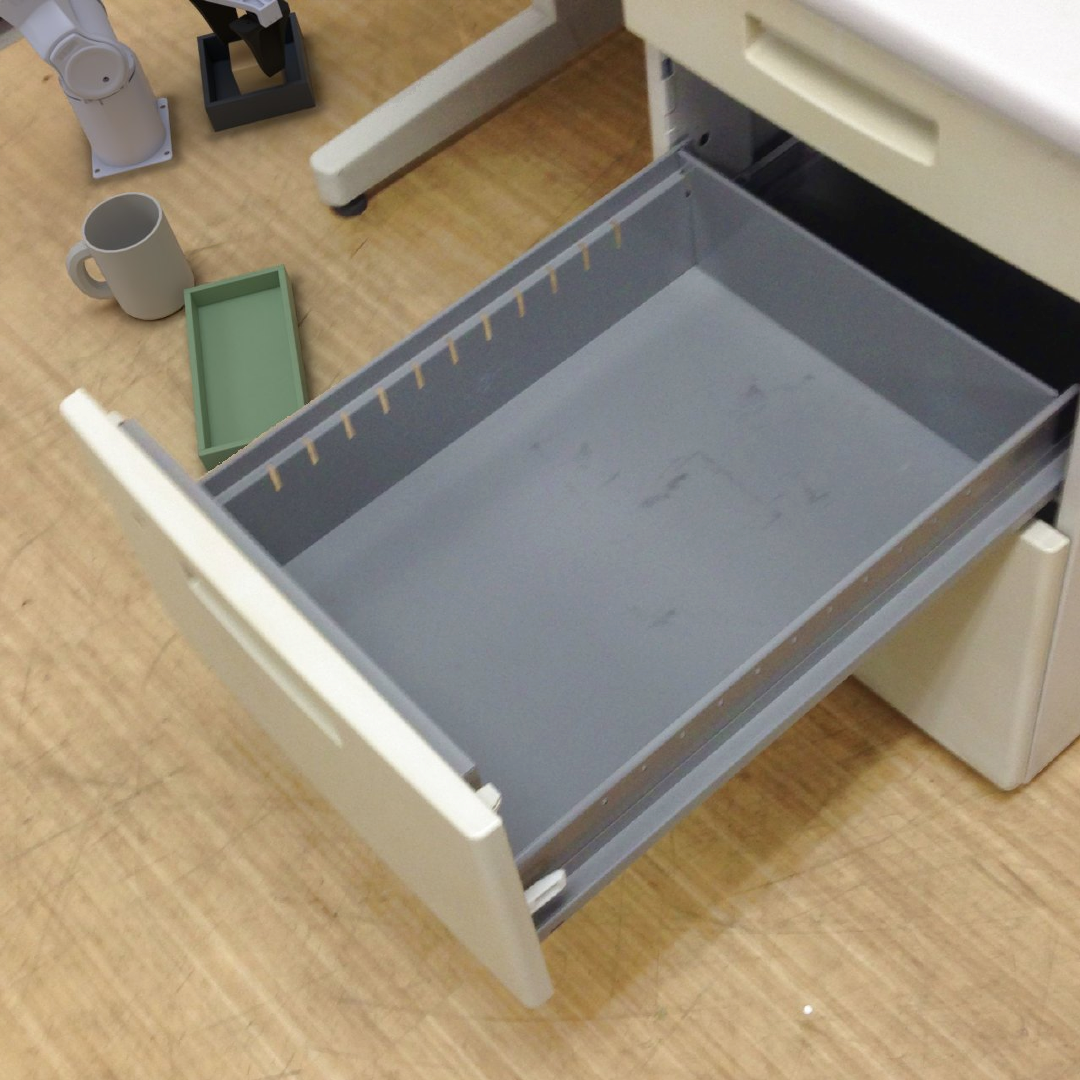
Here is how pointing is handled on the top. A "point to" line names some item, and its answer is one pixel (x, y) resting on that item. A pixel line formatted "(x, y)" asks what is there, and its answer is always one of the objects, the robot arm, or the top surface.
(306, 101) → the dark grey open box
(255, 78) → the block
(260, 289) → the tray
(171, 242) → the cup
